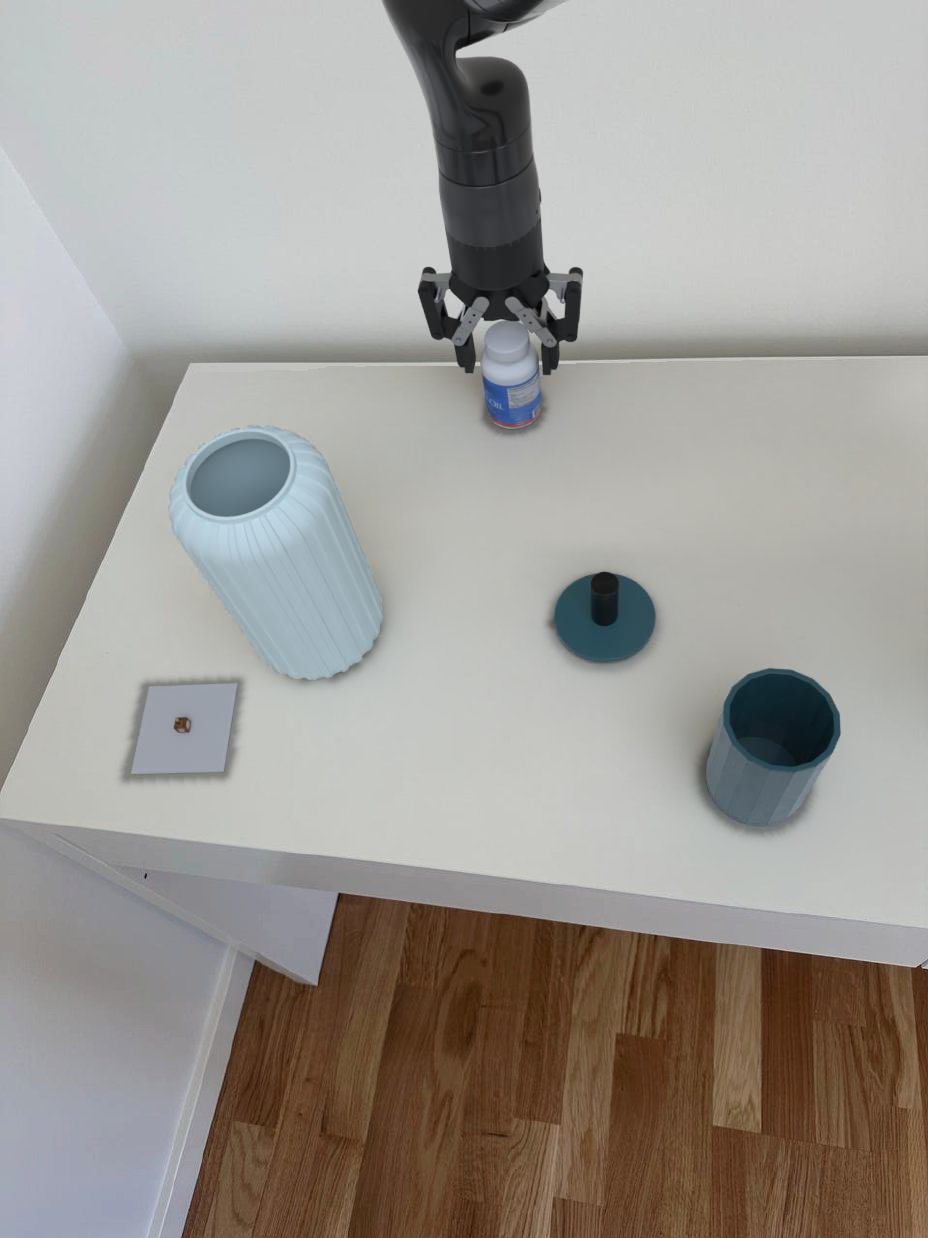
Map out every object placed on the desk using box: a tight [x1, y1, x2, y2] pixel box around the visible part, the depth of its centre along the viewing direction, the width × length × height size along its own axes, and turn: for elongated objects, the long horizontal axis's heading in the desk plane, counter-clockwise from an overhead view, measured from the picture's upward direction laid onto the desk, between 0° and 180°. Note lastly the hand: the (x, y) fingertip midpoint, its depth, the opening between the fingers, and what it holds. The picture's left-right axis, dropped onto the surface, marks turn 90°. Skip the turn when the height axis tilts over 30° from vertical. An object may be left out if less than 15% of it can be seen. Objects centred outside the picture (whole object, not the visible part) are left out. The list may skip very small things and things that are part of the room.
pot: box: [705, 667, 842, 827], centre depth 64 cm, size 7×7×12 cm
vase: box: [167, 424, 384, 681], centre depth 70 cm, size 12×12×22 cm
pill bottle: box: [479, 320, 543, 430], centre depth 85 cm, size 6×5×10 cm
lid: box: [553, 571, 656, 663], centre depth 74 cm, size 8×8×6 cm
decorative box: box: [130, 682, 238, 775], centre depth 76 cm, size 8×8×2 cm
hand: (509, 367), depth 85 cm, fingers open, 6 cm apart
